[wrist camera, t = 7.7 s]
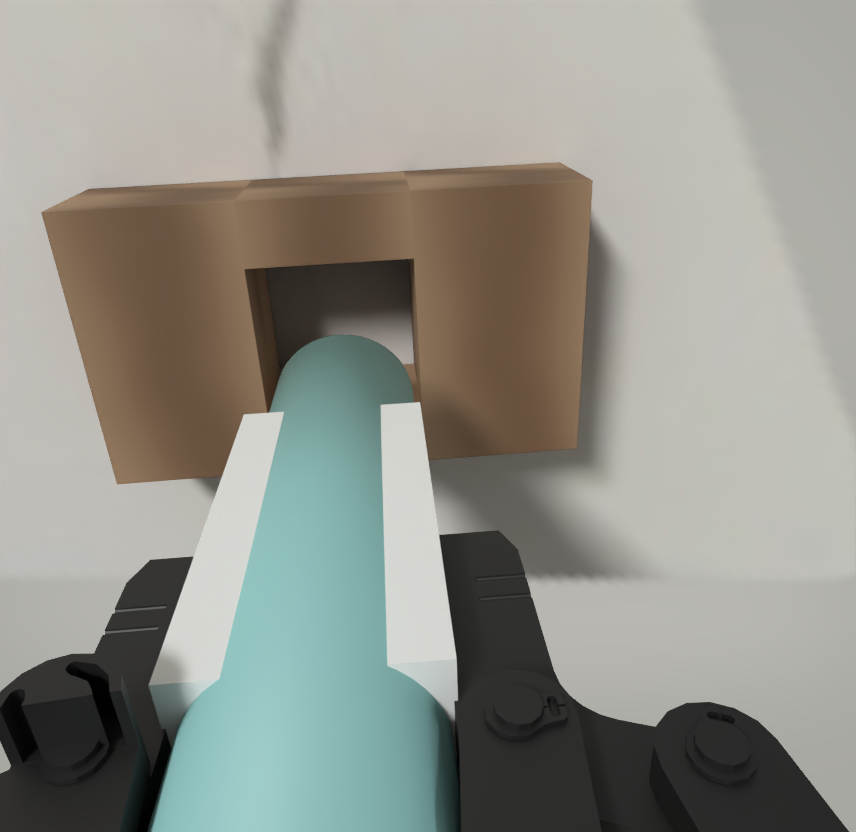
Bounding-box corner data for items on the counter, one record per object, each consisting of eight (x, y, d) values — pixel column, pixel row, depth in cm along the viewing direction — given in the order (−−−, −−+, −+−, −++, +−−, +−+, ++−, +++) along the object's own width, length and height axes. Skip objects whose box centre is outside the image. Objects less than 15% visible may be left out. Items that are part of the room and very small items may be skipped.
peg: (283, 460, 18) (145, 1086, 7) (269, 337, 16) (67, 885, 6) (415, 454, 18) (476, 1057, 7) (411, 332, 16) (484, 855, 6)
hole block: (148, 429, 25) (117, 484, 22) (88, 189, 21) (41, 212, 18) (550, 400, 26) (576, 448, 22) (559, 162, 22) (592, 180, 19)
